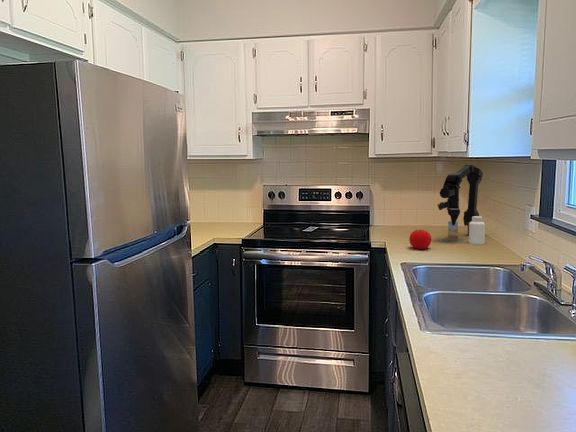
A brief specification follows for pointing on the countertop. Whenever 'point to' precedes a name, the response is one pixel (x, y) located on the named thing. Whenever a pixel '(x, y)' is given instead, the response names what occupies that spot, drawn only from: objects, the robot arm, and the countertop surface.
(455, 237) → the tower base
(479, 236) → the pill bottle
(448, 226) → the pale grey cube
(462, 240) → the mat
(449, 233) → the tower top
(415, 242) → the tomato
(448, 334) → the countertop surface
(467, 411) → the countertop surface
